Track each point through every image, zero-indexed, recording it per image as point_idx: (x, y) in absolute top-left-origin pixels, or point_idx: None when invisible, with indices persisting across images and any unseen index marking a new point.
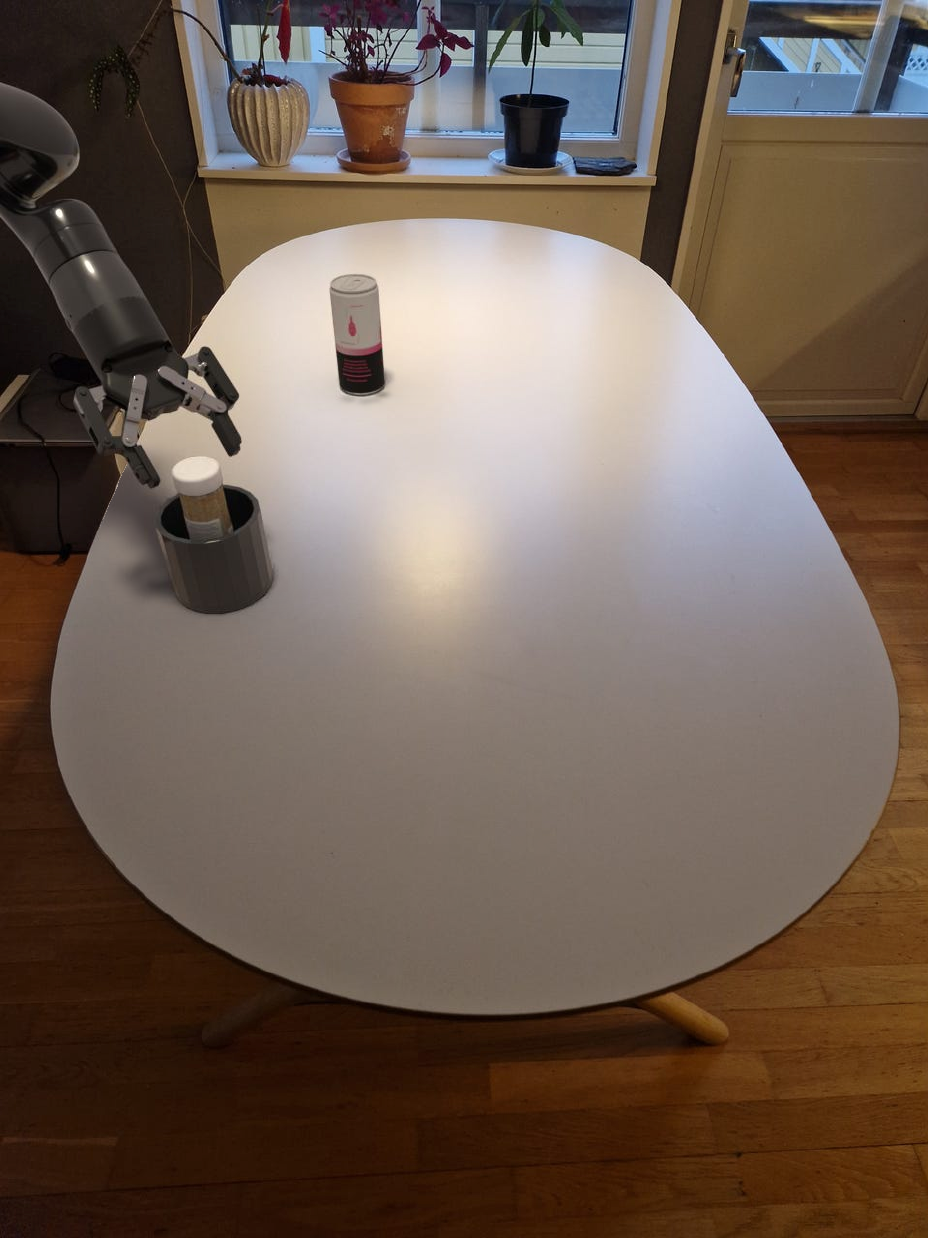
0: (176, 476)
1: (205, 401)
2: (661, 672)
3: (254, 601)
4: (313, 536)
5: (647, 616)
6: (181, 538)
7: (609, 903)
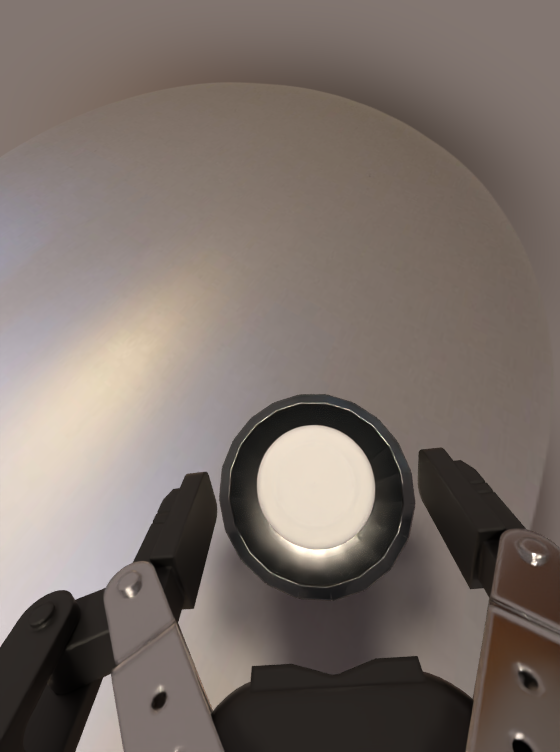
0: (369, 473)
1: (158, 623)
2: (100, 193)
3: None
4: None
5: (54, 231)
6: (382, 435)
7: (257, 109)
